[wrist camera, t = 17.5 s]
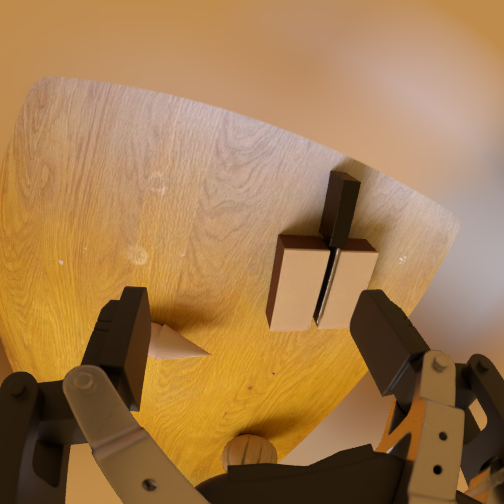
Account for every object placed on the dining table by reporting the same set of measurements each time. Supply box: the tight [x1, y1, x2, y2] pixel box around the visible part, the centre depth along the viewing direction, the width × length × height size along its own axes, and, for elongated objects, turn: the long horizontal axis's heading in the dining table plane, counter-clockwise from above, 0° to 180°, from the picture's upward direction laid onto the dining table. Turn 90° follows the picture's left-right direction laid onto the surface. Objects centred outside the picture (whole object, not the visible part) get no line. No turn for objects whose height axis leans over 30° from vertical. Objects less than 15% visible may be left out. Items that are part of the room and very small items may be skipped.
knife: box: [313, 171, 361, 324], centre depth 40 cm, size 22×2×5 cm, turn 174°
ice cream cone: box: [148, 323, 211, 360], centre depth 44 cm, size 6×6×15 cm
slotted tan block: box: [266, 235, 379, 332], centre depth 43 cm, size 14×14×4 cm
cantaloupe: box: [222, 434, 277, 473], centre depth 63 cm, size 15×15×15 cm
